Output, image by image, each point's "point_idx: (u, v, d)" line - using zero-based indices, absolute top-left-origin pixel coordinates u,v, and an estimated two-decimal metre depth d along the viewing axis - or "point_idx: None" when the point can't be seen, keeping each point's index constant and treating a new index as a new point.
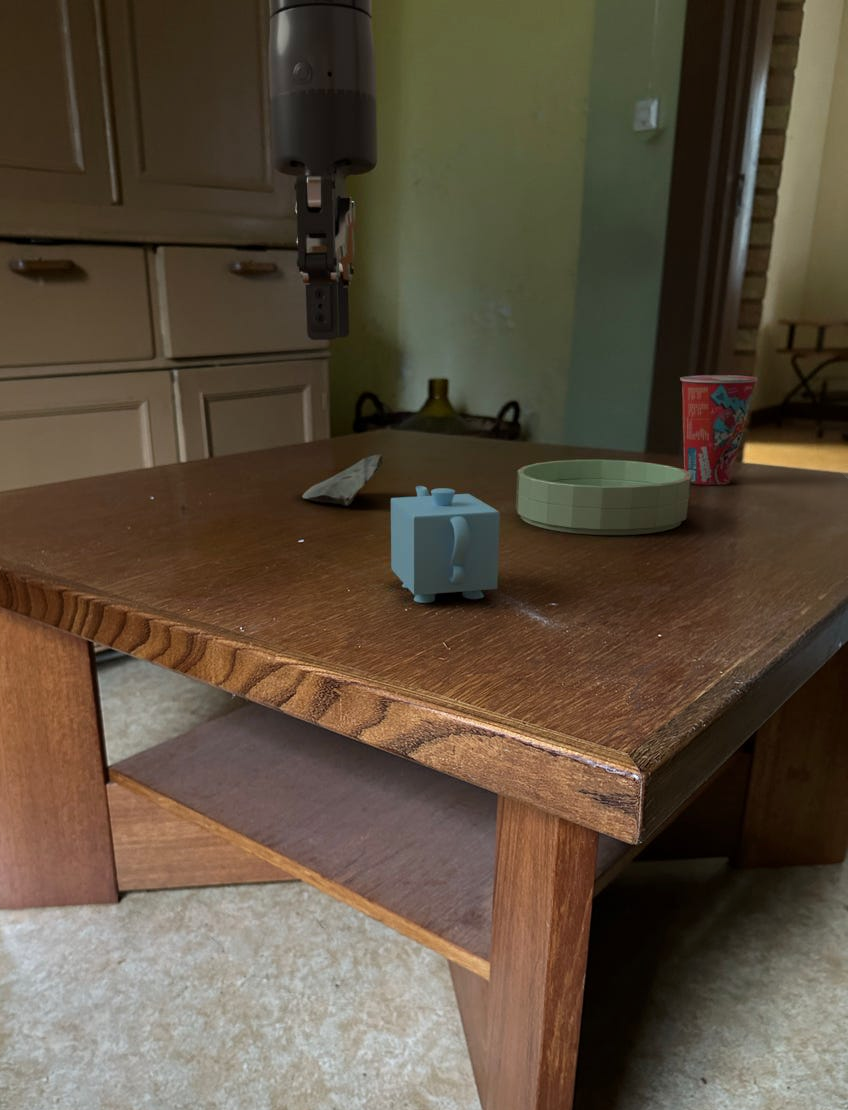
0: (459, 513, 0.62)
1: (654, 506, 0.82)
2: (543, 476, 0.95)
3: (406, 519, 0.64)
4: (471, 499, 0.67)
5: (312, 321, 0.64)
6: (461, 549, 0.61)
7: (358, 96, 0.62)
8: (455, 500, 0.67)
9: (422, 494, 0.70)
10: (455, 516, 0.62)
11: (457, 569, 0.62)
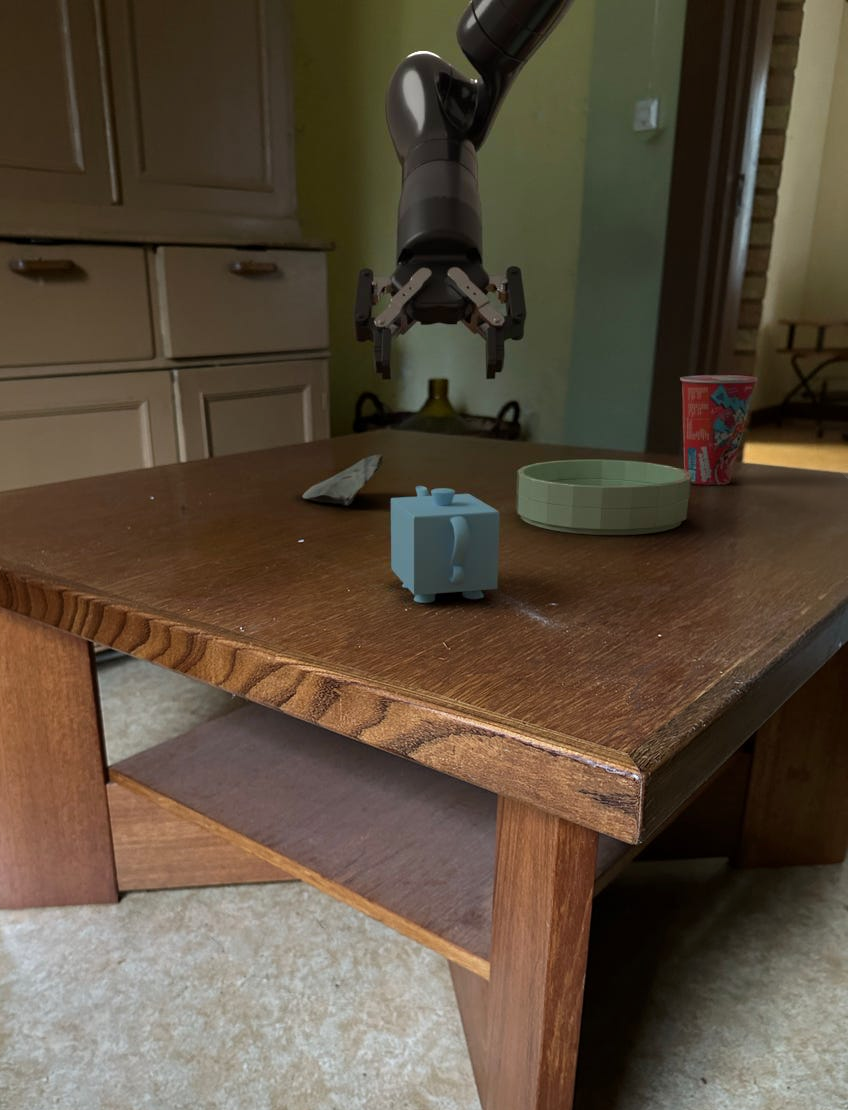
0: (459, 513, 0.62)
1: (654, 506, 0.82)
2: (543, 476, 0.95)
3: (406, 519, 0.64)
4: (471, 499, 0.67)
5: (374, 366, 0.75)
6: (461, 549, 0.61)
7: (410, 209, 0.78)
8: (455, 500, 0.67)
9: (422, 494, 0.70)
10: (455, 516, 0.62)
11: (457, 569, 0.62)
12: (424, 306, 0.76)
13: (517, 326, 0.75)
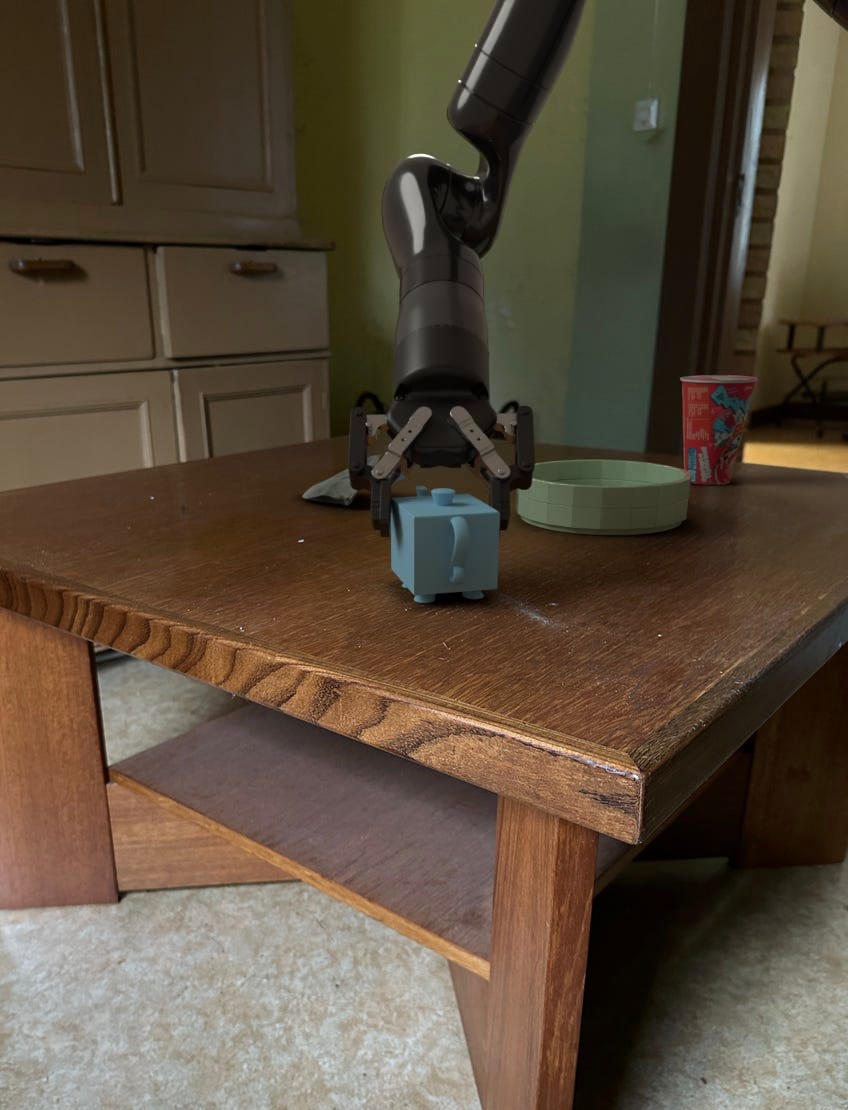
0: (459, 513, 0.62)
1: (654, 506, 0.82)
2: (543, 476, 0.95)
3: (406, 519, 0.64)
4: (471, 499, 0.67)
5: (371, 521, 0.67)
6: (461, 549, 0.61)
7: (408, 337, 0.70)
8: (455, 500, 0.67)
9: (422, 494, 0.70)
10: (455, 516, 0.62)
11: (457, 569, 0.62)
12: (424, 451, 0.67)
13: (524, 477, 0.66)
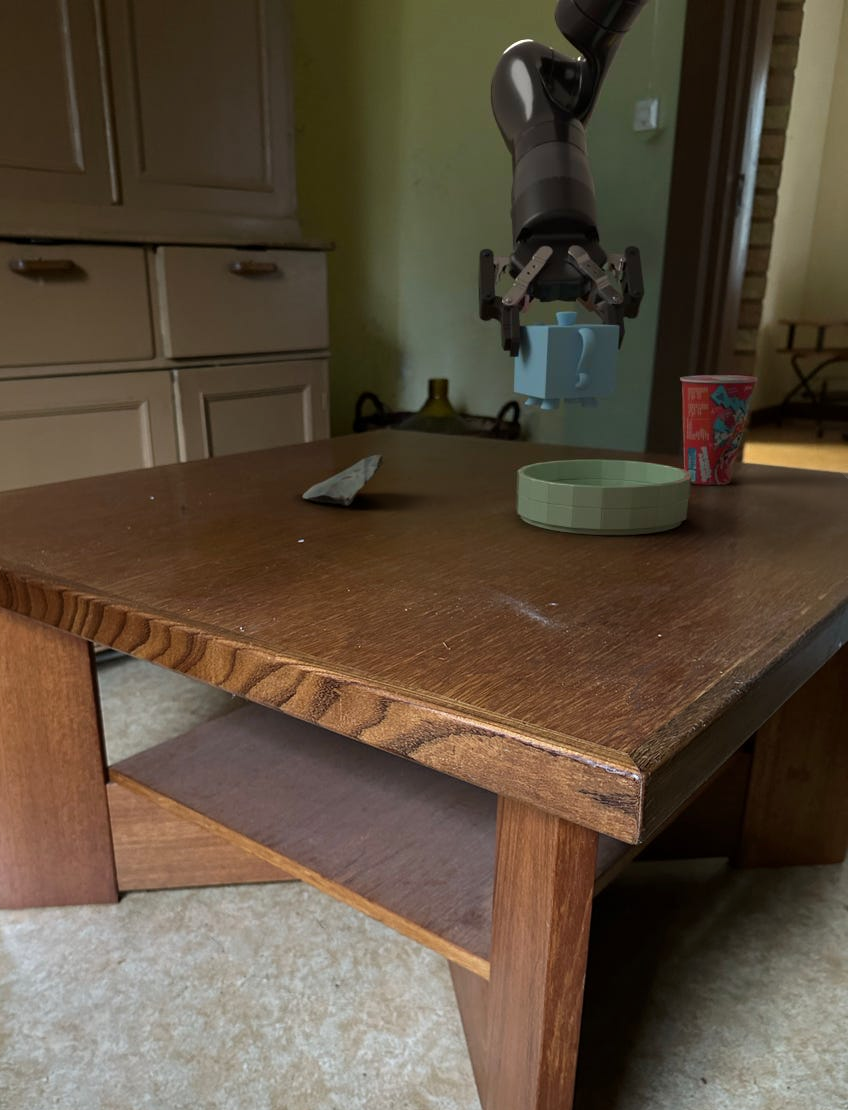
0: (585, 326, 0.73)
1: (654, 506, 0.82)
2: (543, 476, 0.95)
3: (537, 334, 0.74)
4: None
5: None
6: (588, 355, 0.72)
7: (528, 189, 0.80)
8: None
9: None
10: (582, 328, 0.72)
11: (583, 374, 0.73)
12: (546, 283, 0.78)
13: (635, 304, 0.77)
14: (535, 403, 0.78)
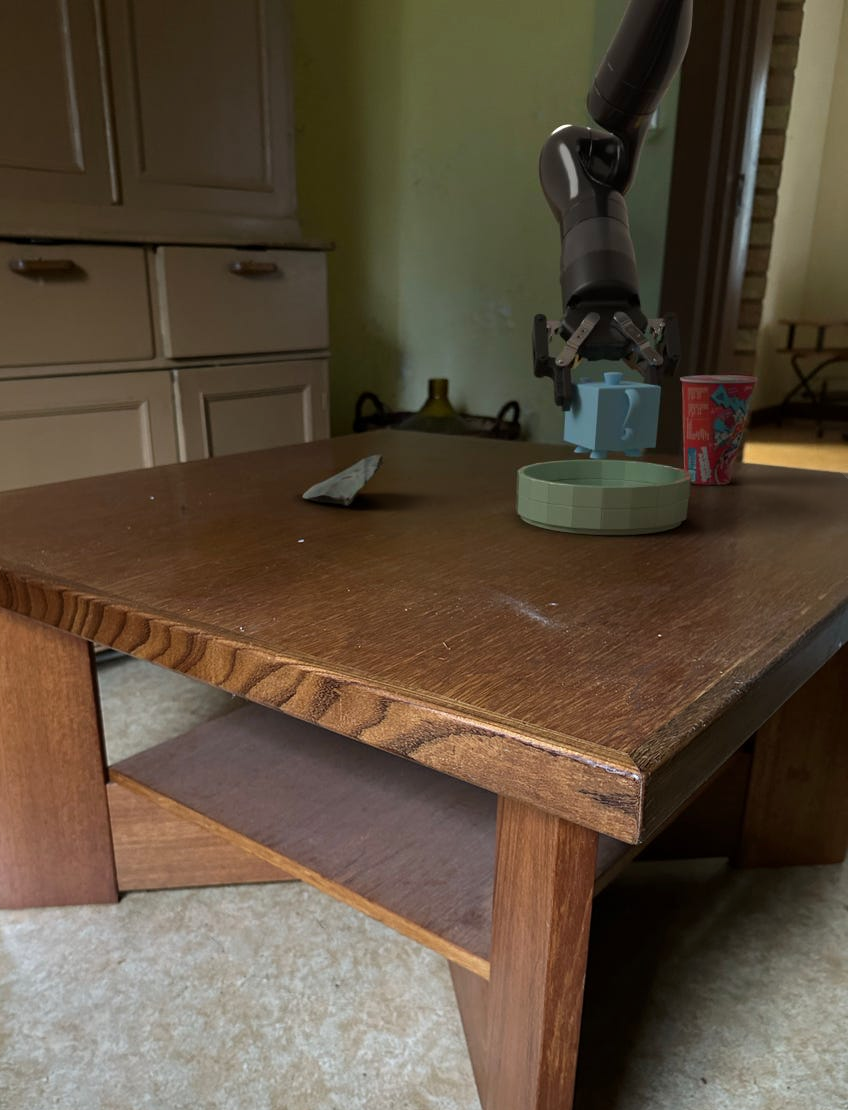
0: (631, 387, 0.82)
1: (654, 506, 0.82)
2: (543, 476, 0.95)
3: (588, 393, 0.84)
4: (631, 382, 0.87)
5: (554, 399, 0.87)
6: (634, 413, 0.82)
7: (577, 260, 0.90)
8: None
9: (587, 382, 0.90)
10: (628, 388, 0.82)
11: (629, 429, 0.83)
12: (594, 346, 0.88)
13: (673, 365, 0.87)
14: (583, 451, 0.88)
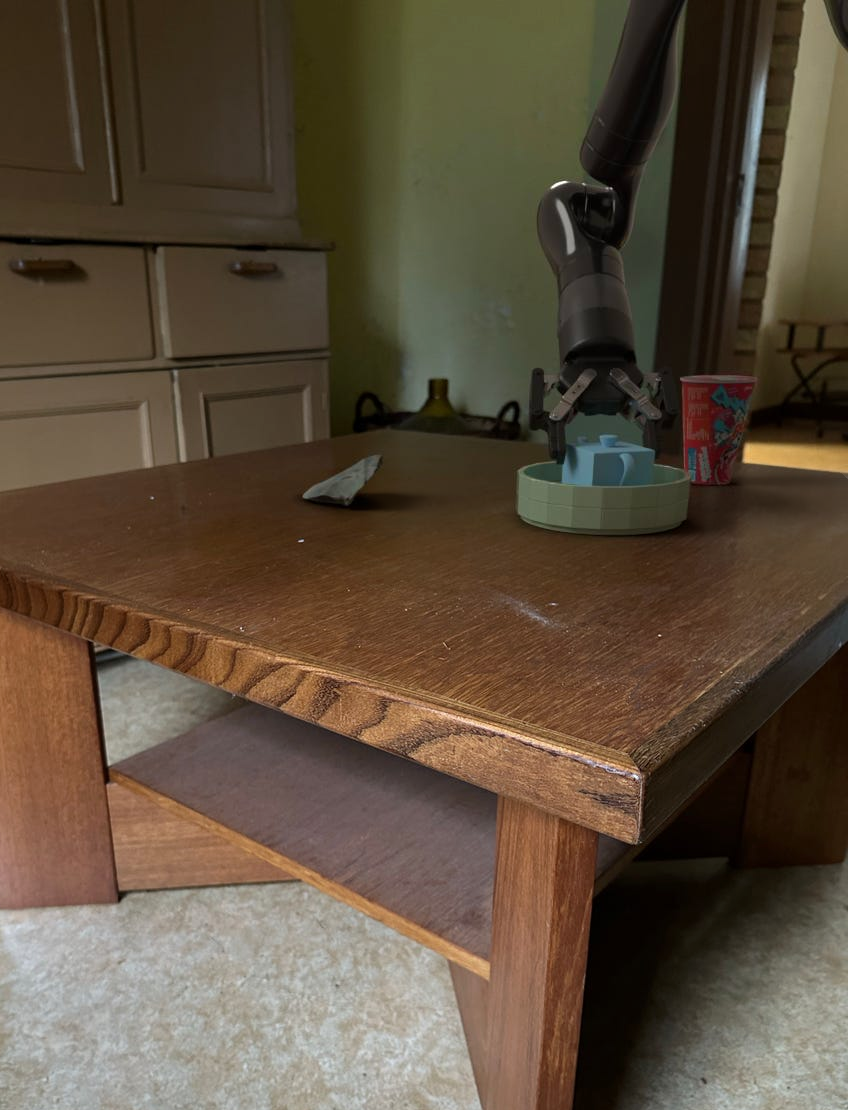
0: (626, 451, 0.84)
1: (654, 506, 0.82)
2: (543, 476, 0.95)
3: (584, 456, 0.86)
4: (626, 444, 0.89)
5: (549, 453, 0.89)
6: (628, 477, 0.84)
7: (574, 316, 0.92)
8: (615, 444, 0.89)
9: (584, 442, 0.92)
10: (623, 453, 0.84)
11: None
12: (590, 401, 0.89)
13: (671, 419, 0.88)
14: None
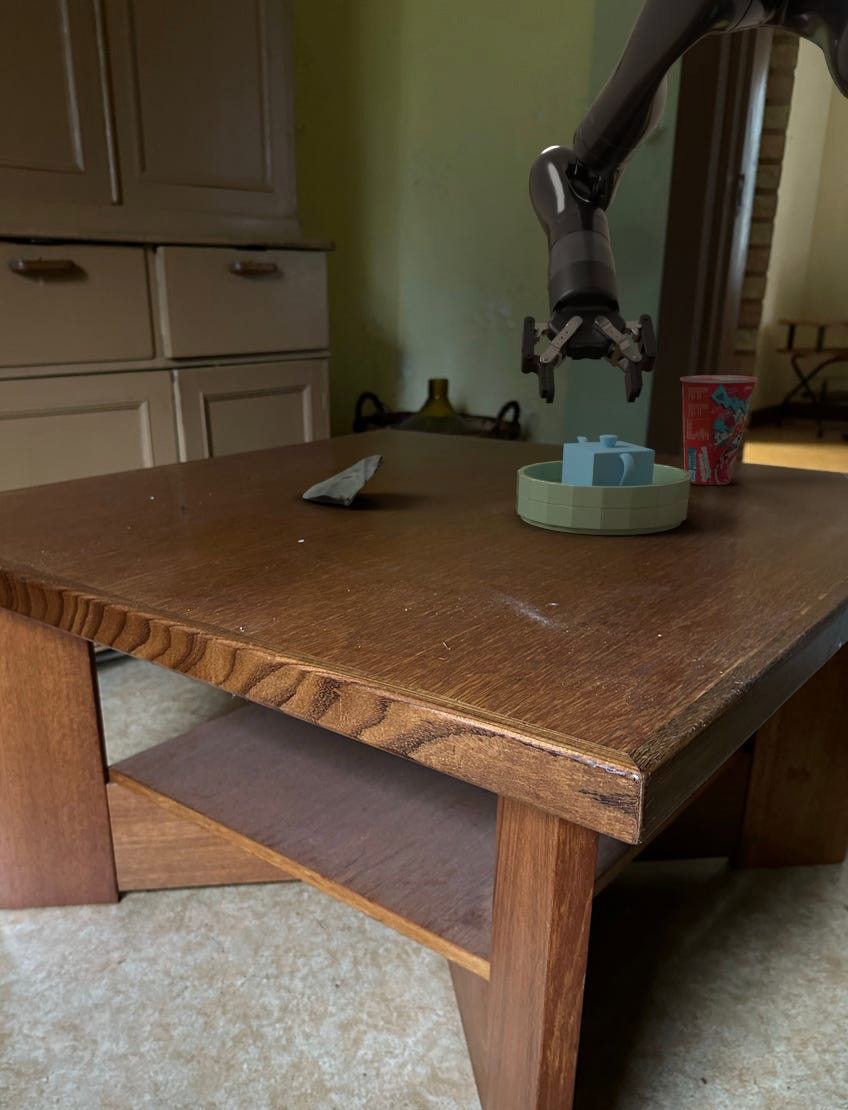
0: (626, 451, 0.84)
1: (654, 506, 0.82)
2: (543, 476, 0.95)
3: (584, 456, 0.86)
4: (626, 444, 0.89)
5: (539, 393, 0.98)
6: (628, 477, 0.84)
7: (562, 269, 1.00)
8: (615, 444, 0.89)
9: (584, 442, 0.92)
10: (623, 453, 0.84)
11: None
12: (577, 346, 0.98)
13: (650, 361, 0.97)
14: None
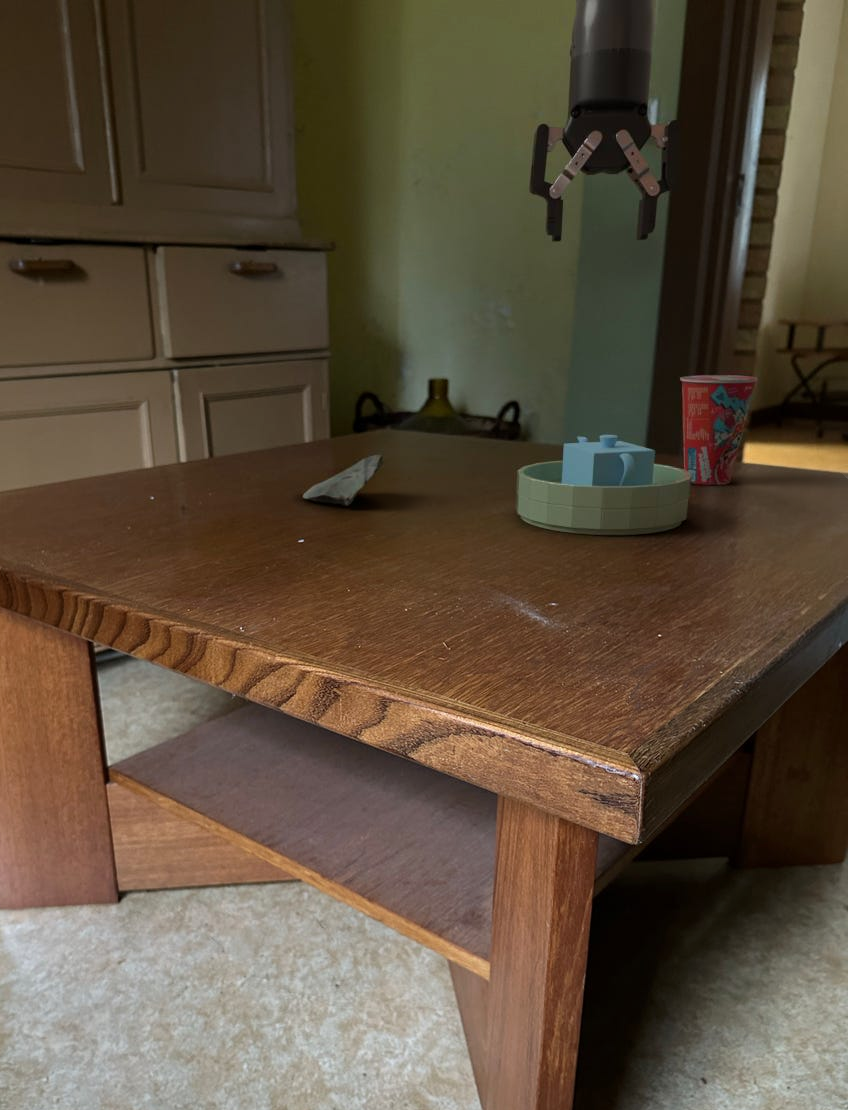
0: (626, 451, 0.84)
1: (654, 506, 0.82)
2: (543, 476, 0.95)
3: (584, 456, 0.86)
4: (626, 444, 0.89)
5: (546, 228, 0.93)
6: (628, 477, 0.84)
7: (587, 56, 0.85)
8: (615, 444, 0.89)
9: (584, 442, 0.92)
10: (623, 453, 0.84)
11: None
12: (592, 170, 0.89)
13: (669, 189, 0.90)
14: None
